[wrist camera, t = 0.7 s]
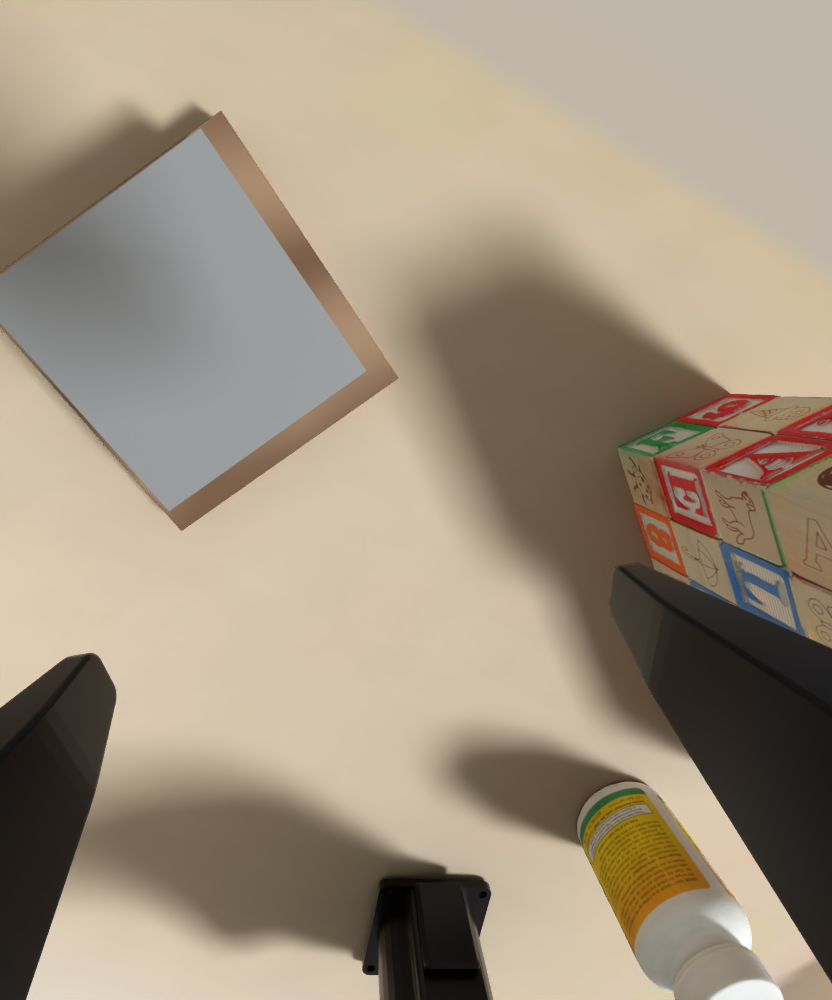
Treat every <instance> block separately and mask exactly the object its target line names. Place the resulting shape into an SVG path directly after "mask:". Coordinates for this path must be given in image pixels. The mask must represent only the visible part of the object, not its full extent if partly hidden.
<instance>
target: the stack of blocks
mask: <svg viewBox="0 0 832 1000" xmlns="http://www.w3.org/2000/svg"><path fill="white" fill-rule="evenodd" d="M618 454H619V457H620V460H621V463H622V466H623V469H624V472H625V475H626V478H627V482H628V485H629V488H630V491H631V494H632V497H633V500H634V509H635V511H636V514H637V517H638V521H639V524H640V527H641V530H642V533H643V536H644V539H645V542H646V545H647V548H648V551H649V554H650V555H651V560H652V563H653V567H654V570H656V571H659V572H661V573H663V574H665V575H668V576H670V577H672V578H674V579H677V580H679V581H681V582H683V583H686V584H688V585H690V586H692V587H695V588H697V589H699V590H702V591H704V592H706V593H708V594H711V595H713V596H715V597H717V598H720V599H722V600H724V601H726V602H729V603H731V604H733V605H735V606H738V607H740V608H742V609H744V610H747V611H749V612H751V613H753V614H756V615H758V616H760V617H762V618H765V619H767V620H769V621H771V622H774V623H776V624H778V625H780V626H783V627H785V628H787V629H789V630H792V631H794V632H796V633H798V634H801V635H803V636H805V637H807V638H810V639H812V640H814V641H816V642H819V643H821V644H823V645H826V646H828V647H830V648H832V398H823V397H781V396H775V395H748V394H729V395H727V396H725V397H722V398H720V399H718V400H716V401H714V402H712V403H710V404H708V405H705V406H703V407H701V408H699V409H697V410H695V411H693V412H691V413H689V414H686V415H684V416H682V417H680V418H678V419H676V420H675V421H674V422H672V423H670V424H668V425H665V426H663V427H661V428H659V429H657V430H655V431H652V432H650V433H648V434H646V435H644V436H642V437H640V438H637V439H635V440H633V441H631V442H629V443H627V444H624V445H622V446H620V447H618Z"/></svg>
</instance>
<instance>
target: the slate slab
mask: <svg viewBox="0 0 832 1000" xmlns="http://www.w3.org/2000/svg"><path fill="white" fill-rule="evenodd" d="M0 323H1V324H2V325H3V327H4V328H5V329H6V330H7V331H8V332H9V333H10V334H11V336H12V337H13V338H14V339H15V340H16V341H17V342H18V343H19V344H20V346H21V347H22V348H23V349H24V350H25V351H26V352H27V353H28V355H29V356H30V357H31V358H32V359H33V360H34V361H35V362H36V363H37V365H38V366H39V367H40V368H41V369H42V370H43V371H44V372H45V374H46V375H47V376H48V377H49V378H50V379H51V380H52V381H53V382H54V384H55V385H56V386H57V387H58V388H59V389H60V390H61V391H62V393H63V394H64V395H65V396H66V397H67V398H68V399H69V400H70V401H71V403H72V404H73V405H74V406H75V407H76V408H77V409H78V410H79V412H80V413H81V414H82V415H83V416H84V417H85V418H86V419H87V420H88V422H89V423H90V424H91V425H92V426H93V427H94V428H95V429H96V431H97V432H98V433H99V434H100V435H101V436H102V437H103V438H104V439H105V441H106V442H107V443H108V444H109V445H110V446H111V447H112V448H113V450H114V451H115V452H116V453H117V454H118V455H119V456H120V457H121V458H122V460H123V461H124V462H125V463H126V464H127V465H128V466H129V467H130V468H131V470H132V471H133V472H134V473H135V474H136V475H137V476H138V477H139V479H140V480H141V481H142V482H143V483H144V484H145V485H146V486H147V487H148V489H149V490H150V491H151V492H152V493H153V494H154V495H155V496H156V498H157V499H158V500H159V501H160V502H161V503H162V504H163V505H164V506H165V508H166V509H167V510H168V511H170V510H172V509H173V508H175V507H176V506H177V505H179V504H180V503H182V502H183V501H184V500H186V499H187V498H189V497H190V496H191V495H193V494H194V493H196V492H197V491H198V490H200V489H201V488H203V487H204V486H205V485H207V484H208V483H210V482H211V481H213V480H214V479H215V478H217V477H218V476H220V475H221V474H222V473H224V472H225V471H227V470H228V469H229V468H231V467H232V466H234V465H235V464H236V463H238V462H239V461H241V460H242V459H243V458H245V457H246V456H248V455H249V454H250V453H252V452H253V451H255V450H256V449H258V448H259V447H260V446H262V445H263V444H265V443H266V442H267V441H269V440H270V439H272V438H273V437H274V436H276V435H277V434H279V433H280V432H281V431H283V430H284V429H286V428H287V427H288V426H290V425H291V424H293V423H294V422H295V421H297V420H298V419H300V418H301V417H303V416H304V415H305V414H307V413H308V412H310V411H311V410H312V409H314V408H315V407H317V406H318V405H319V404H321V403H322V402H324V401H325V400H326V399H328V398H329V397H331V396H332V395H333V394H335V393H336V392H338V391H339V390H340V389H342V388H343V387H345V386H346V385H348V384H349V383H350V382H352V381H353V380H355V379H356V378H357V377H359V376H360V375H362V374H363V373H364V372H366V369H365V368H364V366H363V365H362V363H361V362H360V360H359V359H358V358H357V356H356V355H355V353H354V352H353V350H352V349H351V347H350V346H349V344H348V343H347V341H346V340H345V339H344V337H343V336H342V334H341V333H340V331H339V330H338V328H337V327H336V325H335V324H334V322H333V321H332V320H331V318H330V317H329V315H328V314H327V312H326V311H325V309H324V308H323V306H322V305H321V303H320V302H319V301H318V299H317V298H316V296H315V295H314V293H313V292H312V290H311V289H310V287H309V286H308V284H307V283H306V282H305V280H304V279H303V277H302V276H301V274H300V273H299V271H298V270H297V268H296V267H295V265H294V264H293V263H292V261H291V260H290V258H289V257H288V255H287V254H286V252H285V251H284V249H283V248H282V246H281V245H280V244H279V242H278V241H277V239H276V238H275V236H274V235H273V233H272V232H271V230H270V229H269V227H268V226H267V225H266V223H265V222H264V220H263V219H262V217H261V216H260V214H259V213H258V211H257V210H256V208H255V207H254V206H253V204H252V203H251V201H250V200H249V198H248V197H247V195H246V194H245V192H244V191H243V189H242V188H241V187H240V185H239V184H238V182H237V181H236V179H235V178H234V176H233V175H232V173H231V172H230V170H229V169H228V168H227V166H226V165H225V163H224V162H223V160H222V159H221V157H220V156H219V154H218V153H217V151H216V150H215V149H214V147H213V146H212V144H211V143H210V141H209V140H208V138H207V137H206V135H205V134H204V132H203V131H202V130H201V128H200V129H198V130H197V131H196V132H194V133H193V134H192V135H190V136H189V137H188V138H186V139H185V140H183V141H182V142H181V143H179V144H178V145H177V146H175V147H174V148H173V149H171V150H170V151H169V152H167V153H166V154H164V155H163V156H162V157H160V158H159V159H158V160H156V161H155V162H154V163H152V164H151V165H150V166H148V167H147V168H145V169H144V170H143V171H141V172H140V173H139V174H137V175H136V176H135V177H133V178H132V179H130V180H129V181H128V182H126V183H125V184H124V185H122V186H121V187H120V188H118V189H117V190H116V191H114V192H113V193H111V194H110V195H109V196H107V197H106V198H105V199H103V200H102V201H101V202H99V203H98V204H97V205H95V206H94V207H92V208H91V209H90V210H88V211H87V212H86V213H84V214H83V215H82V216H80V217H79V218H77V219H76V220H75V221H73V222H72V223H71V224H69V225H68V226H67V227H65V228H64V229H63V230H61V231H60V232H58V233H57V234H56V235H54V236H53V237H52V238H50V239H49V240H48V241H46V242H45V243H43V244H42V245H41V246H39V247H38V248H37V249H35V250H34V251H33V252H31V253H30V254H29V255H27V256H26V257H24V258H23V259H22V260H20V261H19V262H18V263H16V264H15V265H14V266H12V267H11V268H10V269H8V270H7V271H5V272H4V273H3V274H1V275H0Z"/></svg>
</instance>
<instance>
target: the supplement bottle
mask: <svg viewBox="0 0 832 1000" xmlns="http://www.w3.org/2000/svg"><path fill="white" fill-rule="evenodd" d="M577 831H578V837H579V840H580V843H581V845H582V847H583V849H584V851H585V854H586V856H587V858H588V860H589V862H590V864H591V866H592V868H593V870H594V872H595V874H596V876H597V878H598V880H599V883H600V885H601V887H602V889H603V891H604V893H605V895H606V897H607V899H608V901H609V903H610V905H611V907H612V909H613V911H614V913H615V915H616V917H617V919H618V921H619V923H620V925H621V928H622V930H623V932H624V934H625V936H626V938H627V940H628V942H629V945H630V947H631V949H632V951H633V953H634V955H635V957H636V959H637V961H638V963H639V965H640V966H641V968H642V970H643V971H644V973H645V974H646V975H647V977H648V978H649V979H650V980H651V981H652V982H653V983H654V984H656V985H657V986H658V987H660V988H661V989H663V990H665V991H667V992H669V993H672V994H674V997H675V1000H783V996H782V993H781V991H780V989H779V987H778V986H777V984H776V983H775V981H774V980H773V978H772V977H771V975H770V974H769V972H768V971H767V969H766V968H765V966H764V965H763V963H762V961H761V960H760V958H759V957H758V956H757V955H756V954H754V953H753V952H752V951H751V942H752V937H751V929H750V925H749V922H748V919H747V917H746V915H745V913H744V911H743V909H742V908H741V906H740V905H739V903H738V902H737V900H736V899H735V898H734V896H733V895H732V894H731V892H730V891H729V889H728V888H727V887H726V885H725V884H724V883H723V881H722V880H721V879H720V877H719V876H718V874H717V873H716V872H715V870H714V869H713V868H712V866H711V865H710V863H709V862H708V861H707V859H706V858H705V857H704V855H703V854H702V853H701V851H700V850H699V848H698V847H697V846H696V844H695V843H694V842H693V840H692V839H691V837H690V836H689V835H688V833H687V832H686V831H685V829H684V828H683V826H682V825H681V823H680V822H679V821H678V819H677V818H676V817H675V815H674V814H673V813H672V811H671V810H670V809H669V807H668V806H667V805H666V803H665V802H664V801H663V799H662V798H661V797H660V796H659V795H658V793H657V792H656V791H654V790H653V789H652V788H650V787H648V786H647V785H644V784H641V783H638V782H620V783H617V784H613V785H609V786H606V787H604V788H602V789H601V790H599V791H597V792H596V793H595V794H593V795H592V796H591V797H590V798H589V799H588V801H587V802H586V803H585V805H584V806H583V808H582V810H581V812H580V815H579V818H578V823H577Z"/></svg>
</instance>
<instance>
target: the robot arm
mask: <svg viewBox="0 0 832 1000" xmlns="http://www.w3.org/2000/svg"><path fill="white" fill-rule="evenodd" d="M609 606H610V610H611V613H612V616H613V618H614V620H615V622H616V624H617V626H618V628H619V630H620V632H621V634H622V636H623V638H624V640H625V642H626V644H627V647H628V649H629V651H630V653H631V655H632V657H633V659H634V661H635V663H636V665H637V667H638V669H639V671H640V673H641V675H642V677H643V679H644V681H645V683H646V685H647V687H648V689H649V690H650V692H651V694H652V695H653V697H654V699H655V700H656V702H657V704H658V705H659V707H660V708H661V710H662V712H663V713H664V715H665V716H666V718H667V720H668V721H669V723H670V725H671V726H672V728H673V729H674V731H675V733H676V734H677V736H678V737H679V739H680V741H681V742H682V744H683V745H684V747H685V749H686V750H687V752H688V753H689V755H690V757H691V758H692V760H693V761H694V763H695V765H696V766H697V768H698V769H699V771H700V773H701V774H702V776H703V777H704V779H705V781H706V782H707V784H708V785H709V787H710V789H711V790H712V792H713V794H714V795H715V797H716V798H717V800H718V802H719V803H720V805H721V806H722V808H723V810H724V811H725V813H726V814H727V816H728V818H729V819H730V821H731V822H732V824H733V826H734V827H735V829H736V830H737V832H738V834H739V835H740V837H741V838H742V840H743V842H744V843H745V845H746V846H747V848H748V850H749V851H750V853H751V854H752V856H753V858H754V859H755V861H756V863H757V864H758V866H759V867H760V869H761V871H762V872H763V874H764V875H765V877H766V879H767V880H768V882H769V883H770V885H771V887H772V888H773V890H774V891H775V893H776V895H777V896H778V898H779V899H780V901H781V903H782V904H783V906H784V907H785V909H786V911H787V912H788V914H789V915H790V917H791V919H792V920H793V922H794V923H795V925H796V927H797V928H798V930H799V932H800V933H801V935H802V936H803V938H804V940H805V941H806V943H807V944H808V946H809V948H810V949H811V951H812V952H813V954H814V956H815V957H816V959H817V960H818V962H819V963H820V965H821V967H822V968H823V970H824V972H825V973H826V975H827V976H828V978H829V980H830V981H831V983H832V648H830V647H828V646H826V645H823V644H821V643H819V642H816V641H814V640H812V639H810V638H807V637H805V636H803V635H801V634H798V633H796V632H794V631H792V630H789V629H787V628H785V627H783V626H780V625H778V624H776V623H774V622H771V621H769V620H767V619H765V618H762V617H760V616H758V615H756V614H753V613H751V612H749V611H747V610H744V609H742V608H740V607H738V606H735V605H733V604H731V603H729V602H726V601H724V600H722V599H720V598H717V597H715V596H713V595H711V594H708V593H706V592H704V591H702V590H699V589H697V588H695V587H692V586H690V585H688V584H686V583H683V582H681V581H679V580H677V579H674V578H672V577H670V576H668V575H665V574H663V573H661V572H659V571H656V570H654V569H652V568H650V567H647V566H645V565H643V564H640V563H629V564H623V565H618V566H617V567H615V569H614V571H613V575H612V583H611V591H610V598H609ZM115 704H116V689H115V686H114V684H113V682H112V680H111V678H110V676H109V674H108V672H107V670H106V669H105V667H104V665H103V663H102V661H101V659H100V658H99V656H97V655H96V654H94V653H86V654H80V655H74V656H70V657H67V658H65V659H63V660H62V661H61V662H59V663H58V664H57V665H55V666H54V667H53V668H51V669H50V670H49V671H48V672H46V673H45V674H44V675H42V676H41V677H40V678H39V679H37V680H36V681H35V682H33V683H32V684H31V685H29V686H28V687H27V688H26V689H24V690H23V691H22V692H20V693H19V694H18V695H16V696H15V697H14V698H13V699H11V700H10V701H9V702H7V703H6V704H5V705H4V706H2V707H1V708H0V1000H26V998H27V995H28V992H29V989H30V986H31V983H32V980H33V977H34V974H35V971H36V968H37V965H38V962H39V959H40V956H41V953H42V950H43V947H44V944H45V941H46V938H47V935H48V932H49V929H50V926H51V923H52V920H53V917H54V914H55V912H56V909H57V906H58V903H59V900H60V897H61V894H62V891H63V888H64V885H65V882H66V879H67V876H68V873H69V870H70V867H71V864H72V861H73V858H74V855H75V852H76V849H77V846H78V843H79V840H80V837H81V834H82V831H83V828H84V825H85V822H86V819H87V816H88V813H89V810H90V807H91V804H92V801H93V798H94V794H95V791H96V787H97V783H98V779H99V775H100V771H101V766H102V762H103V757H104V753H105V748H106V744H107V739H108V735H109V730H110V726H111V721H112V717H113V712H114V708H115ZM490 897H491V890H490V887H489V884H488V883H487V882H485V881H462V880H426V879H390V878H389V879H384V880H382V881H381V882H380V883H379V885H378V890H377V895H376V899H375V904H374V908H373V913H372V918H371V922H370V927H369V932H368V936H367V941H366V946H365V950H364V955H363V959H362V970H363V972H364V973H365V974H366V975H379V995H380V1000H493V996H492V992H491V987H490V983H489V979H488V974H487V970H486V966H485V961H484V957H483V953H482V948H481V944H480V940H479V936H480V933H481V929H482V925H483V922H484V918H485V915H486V911H487V907H488V904H489V900H490Z"/></svg>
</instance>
